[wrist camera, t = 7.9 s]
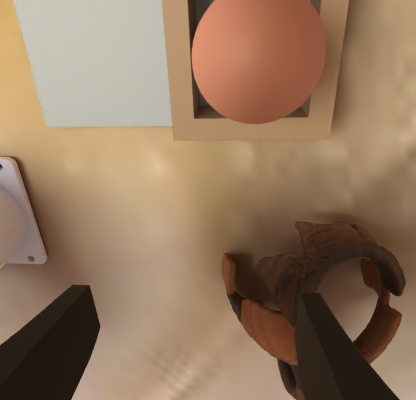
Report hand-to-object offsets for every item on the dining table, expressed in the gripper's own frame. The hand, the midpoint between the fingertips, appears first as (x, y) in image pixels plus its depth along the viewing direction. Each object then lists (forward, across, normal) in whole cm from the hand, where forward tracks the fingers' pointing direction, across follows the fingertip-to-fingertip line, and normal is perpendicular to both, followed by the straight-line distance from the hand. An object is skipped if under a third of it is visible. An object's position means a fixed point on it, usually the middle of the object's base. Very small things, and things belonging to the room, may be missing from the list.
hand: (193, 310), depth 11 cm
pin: (+9, -2, -8) cm, 12 cm away
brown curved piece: (+10, -6, +7) cm, 13 cm away
